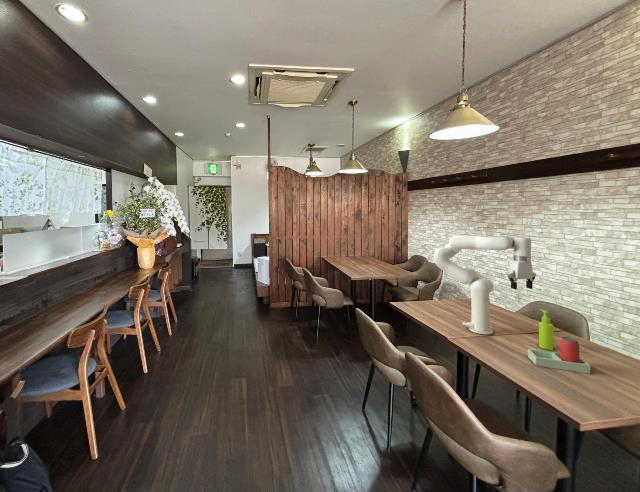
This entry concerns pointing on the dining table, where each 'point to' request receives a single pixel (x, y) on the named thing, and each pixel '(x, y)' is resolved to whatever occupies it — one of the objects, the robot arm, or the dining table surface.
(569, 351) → the beer can
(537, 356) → the divided tray
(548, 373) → the dining table surface
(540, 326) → the soap dispenser
